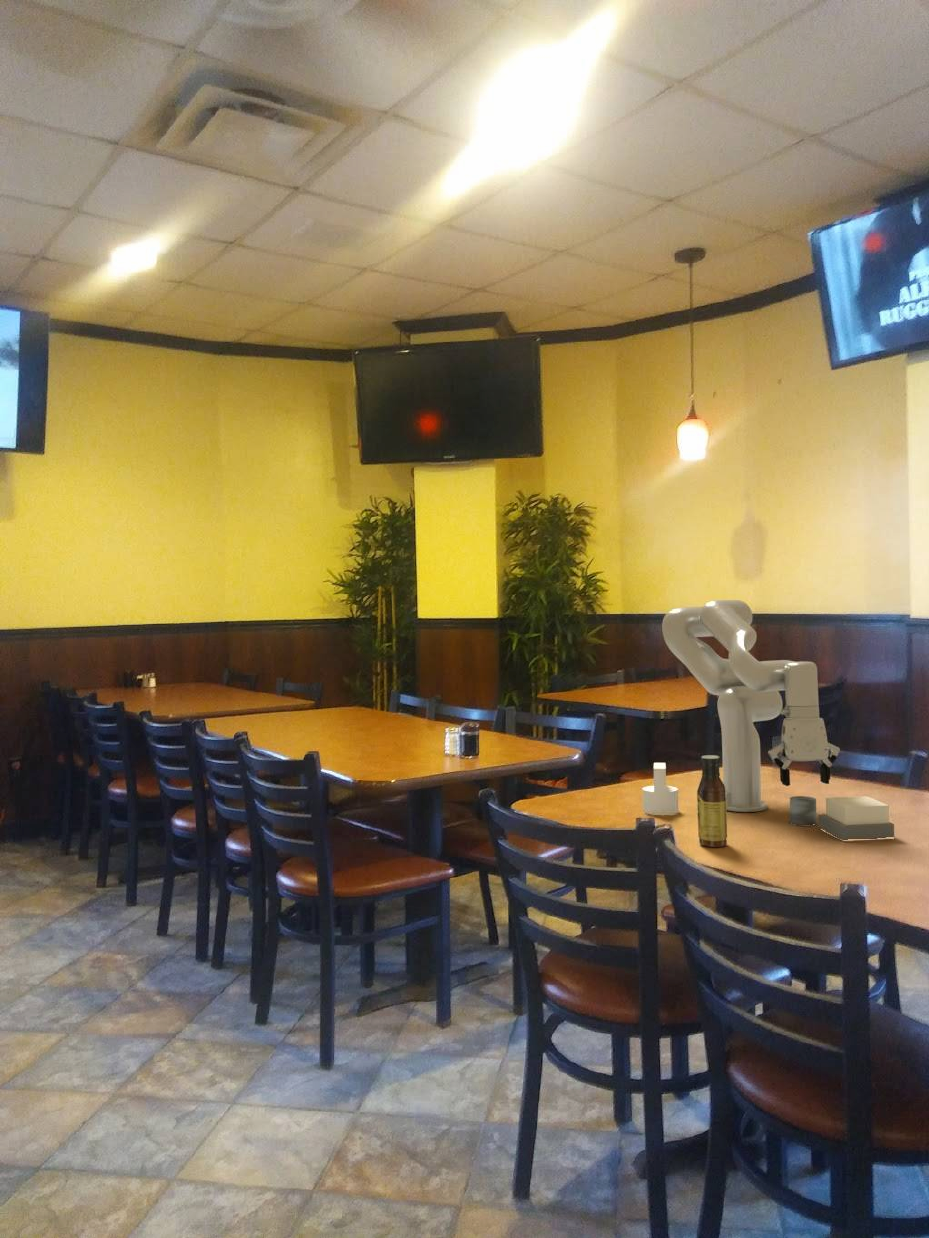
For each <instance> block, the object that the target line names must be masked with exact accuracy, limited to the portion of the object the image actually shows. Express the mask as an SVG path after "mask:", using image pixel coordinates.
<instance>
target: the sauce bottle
mask: <svg viewBox="0 0 929 1238" xmlns="http://www.w3.org/2000/svg"><path fill="white" fill-rule="evenodd" d="M720 760H721V757H720V756H718V755H714V754H713V755H712V754H711V755H710V754H708V755H706V754H705V755H702V756H701V757H700V763H701V778H700V781H699V783H698V787H697V791H696V798H697V799H696V800H697V805H696V806H697V831H698V833H697V835H698V842H699V843H700V845H701V846H704V847H708V848H714V849H715V848H721V847H725V846H726V845H727V844H728V843H727V842H728V841H727V839H728V817H727V816H728V814H727V812H728V811H727V810H726V797H725V786H724V784H723V780H722V779H721V777H720V776H721V775H720V764H721V761H720Z"/></svg>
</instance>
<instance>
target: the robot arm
mask: <svg viewBox="0 0 929 1238" xmlns="http://www.w3.org/2000/svg"><path fill="white" fill-rule="evenodd" d="M752 623H753V611H752V609H751V607H750V606H749V605H748V604H747V603H746V602H744V601H742V600H739V599H722V600H721V599H719V600H716V599H715V600H712V601H709V602H707V603H705V604H704V605H703V606H684V607H678V608H677V607H676V608H674V609H671V610H669V611H668V612H667V613H666V614H665V615H664V616H663V619H662V623H661V628H662V630H661V631H662V636H663V639H664V642H665V644H666V646H667V647H668V649H669V651H670V652H671V653H672V654H673V655H674V656H675V657H676V658H677V659H678V660H679V661H680V662H681V663H682V664H683V665H685V667H686V668H687V669H688V670H689V672H690V673H691V674H692V675H693V677H695V679H696V680H697V681H698V682H699V683H700V685H701V686H702V687H703V688H704V689H705V690H706V691H707V692H708V693H710V694H711V695H713V696H718V697H717V704H716V705H717V714H718V717H719V723H720V728H721V729H720V731H721V747H722V748H721V749H722V751H721V753H722V782H723V784H724V786H725V797H726V811H727V812H736V813H737V812H738V813H757V812H763V811H766V810H767V809H768V802H766V801H763V800H762V789H761V788H762V783H761V782H762V781H761V777H762V776H761V774H762V773H761V740H760V735H759V733H758V731H757V729H756V727H755V725H754V722H764V721H770V720H773V719H775V718H777V717H778V716H780V715H784V716H785V717H786V718H784V719H783V722H782V728H781V737H780V738H781V740H780V741H781V742H780V743H779V744H777V745H776V746H774V747H772V748H770V749H769V750H768V752H767V754H768V755H769V757H770V758H771V760H772V762H773V763H774V765H776V766H777V767H778V768H779V778H780V782H781V784H782V785H783V786H785V787H789V786H790V785H791V772H790V769H789V768H788V767H789V766H790V764H791V763H793V762H813V761H814V762H815V761H817V762H818V761H819V763H821V765H820V766H819V775H820V776H819V777H820V780H819V781H820V782H821V783H822V784H826V785H827V784H828V785H829V784H830V780H831V767H832V766H833V763H834V762H835V761H836V760H837V757H838V755H839V752H840V750H841V749H840V747H838V746H836V745H834V744H832V743H830V742H828V735H827V730H826V726H825V725H826V724H825V721H824V718H822V717H820V707H819V705H820V704H819V685H818V684H819V683H818V682H819V680H818V667H817V664H816V663H815V662H813V661H793V660H788V659H781V660H780V659H779V660H763V661H759V660H758V659H756V658H755V656H753V655H752V653H750V652H749V651H750V650H752V648H753V647H754V645H755V644H756V642H757V638H758V637H757V635H758V634H757V632H756V630H755V629H754V628H753V627H752V626H751V624H752ZM704 637H706V638H707V637H714V638H715V639H716V640H717V641H718V642H719V643H720V644H721V645H722V646H723V647H724V648H725V649H726V650H727V651H728V658H724V657H723V658H722V656H720V655H719V654H718V653H717V652H715V650H714V649H713V648H712V647H711V646H710V645H709V644H707V643H706V642H704V641H702V640H701V639H699V638H704ZM779 691H784V692H785V693H784V695H785V699H784V700H785V706H784V708H783V698H782V695H781V694H780V692H779ZM829 750H830V754H829ZM780 752H781V759H780V758H779V757H778V754H779V753H780Z"/></svg>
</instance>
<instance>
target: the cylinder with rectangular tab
mask: <svg viewBox="0 0 929 1238" xmlns="http://www.w3.org/2000/svg"><path fill="white" fill-rule="evenodd" d="M666 769H667V766H666V762H654V763H653V785H648V786H645V787H642V789H641V791H642V812H643V811H644V812H645V813H647V814H646V815H648V813H649V814H653V815H652V816H654V815H670V816H673V815H672V814H675V815H677V814H676V813H678V814H679V789H678V787H676V786H671V785H667V773H666V772H667V770H666ZM645 813H644V814H645Z"/></svg>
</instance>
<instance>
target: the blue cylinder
mask: <svg viewBox="0 0 929 1238" xmlns="http://www.w3.org/2000/svg"><path fill="white" fill-rule="evenodd" d="M817 820H818V819H817V798H815V797H811V796H805V795H804V796H803V795H795V796H791V797H789V821H790V822H789V823H790V824H791V823H792V824H791V825H793V824H796V825H795V826H797V825H813V824H816V823H818V822H817ZM816 825H817V824H816Z"/></svg>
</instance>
